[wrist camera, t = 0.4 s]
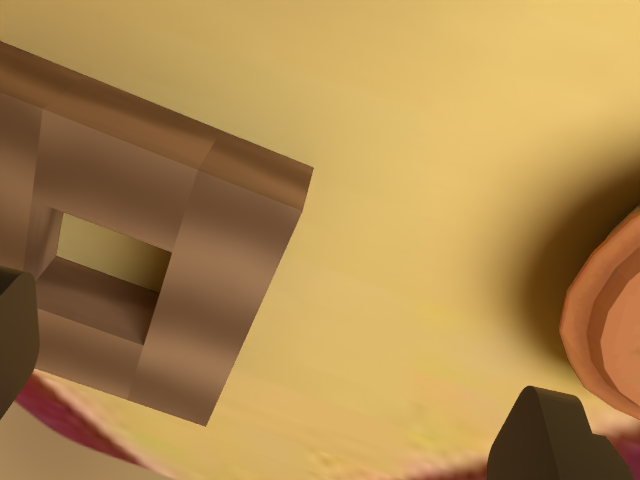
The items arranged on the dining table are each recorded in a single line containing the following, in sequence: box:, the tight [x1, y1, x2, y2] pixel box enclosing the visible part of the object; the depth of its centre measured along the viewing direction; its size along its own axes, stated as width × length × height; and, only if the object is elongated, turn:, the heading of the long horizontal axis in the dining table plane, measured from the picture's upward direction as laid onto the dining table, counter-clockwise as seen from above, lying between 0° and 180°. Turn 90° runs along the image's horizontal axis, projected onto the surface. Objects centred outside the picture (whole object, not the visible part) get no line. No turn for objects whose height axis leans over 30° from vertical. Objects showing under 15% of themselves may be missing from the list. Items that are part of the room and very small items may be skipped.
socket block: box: [0, 41, 314, 427], centre depth 31 cm, size 16×16×4 cm
